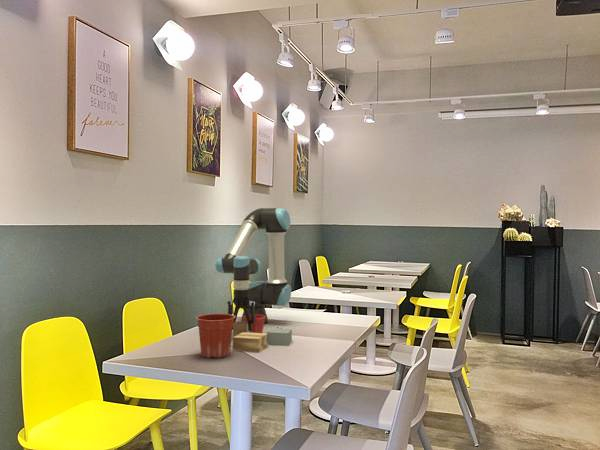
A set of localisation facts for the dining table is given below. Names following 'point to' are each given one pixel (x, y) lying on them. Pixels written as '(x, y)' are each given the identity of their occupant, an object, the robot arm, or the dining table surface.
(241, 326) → the walnut block
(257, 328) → the flower pot
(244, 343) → the oak pedestal
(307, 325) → the dining table surface
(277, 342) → the sage green pedestal
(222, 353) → the flower pot
